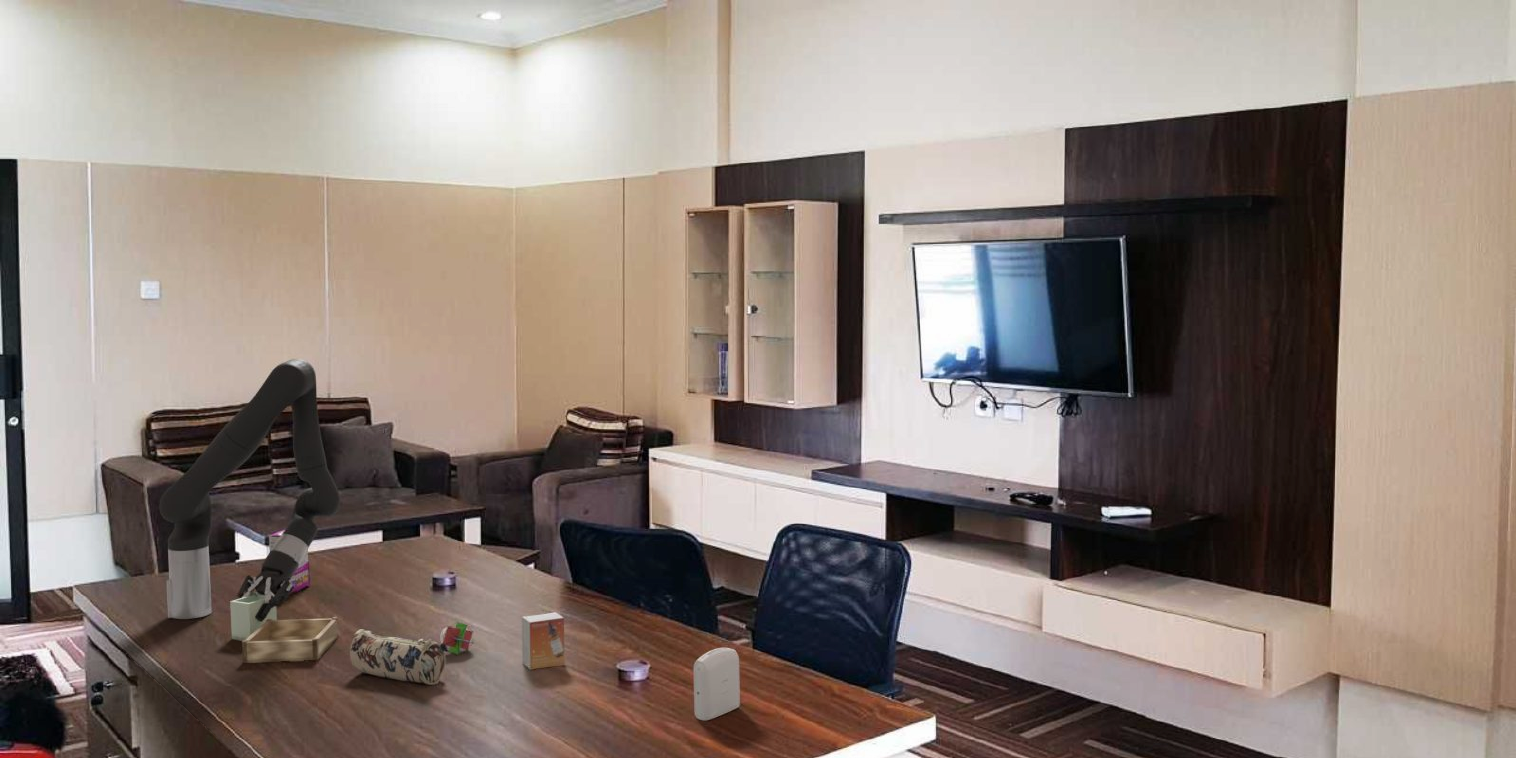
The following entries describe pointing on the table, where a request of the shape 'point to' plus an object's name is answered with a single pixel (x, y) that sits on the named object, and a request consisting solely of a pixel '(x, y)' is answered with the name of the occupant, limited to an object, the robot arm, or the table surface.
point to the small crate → (247, 616)
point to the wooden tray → (290, 640)
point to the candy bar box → (302, 572)
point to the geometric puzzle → (456, 637)
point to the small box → (543, 640)
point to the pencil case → (398, 657)
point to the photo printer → (716, 683)
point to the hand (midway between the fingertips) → (248, 617)
